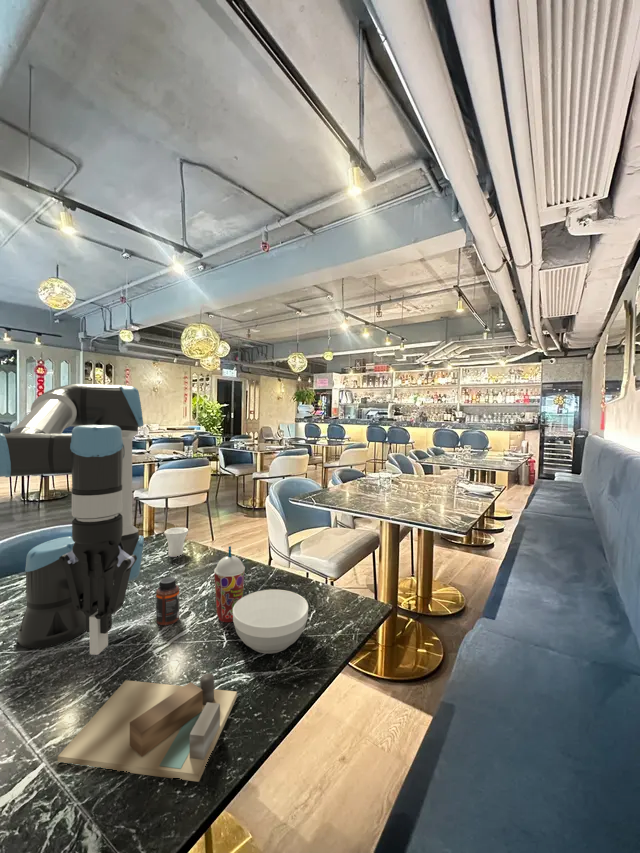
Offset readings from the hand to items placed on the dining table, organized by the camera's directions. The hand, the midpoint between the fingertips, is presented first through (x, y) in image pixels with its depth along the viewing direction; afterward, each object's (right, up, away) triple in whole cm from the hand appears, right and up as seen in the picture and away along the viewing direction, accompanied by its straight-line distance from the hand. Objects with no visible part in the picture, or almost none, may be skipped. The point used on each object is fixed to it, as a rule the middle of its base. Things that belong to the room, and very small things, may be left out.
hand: (99, 649), depth 67 cm
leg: (+11, -15, +1) cm, 19 cm away
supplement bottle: (-3, -15, +39) cm, 42 cm away
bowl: (+26, -15, +30) cm, 43 cm away
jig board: (+9, -16, +3) cm, 19 cm away
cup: (-19, -13, +87) cm, 90 cm away
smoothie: (+13, -15, +41) cm, 46 cm away
